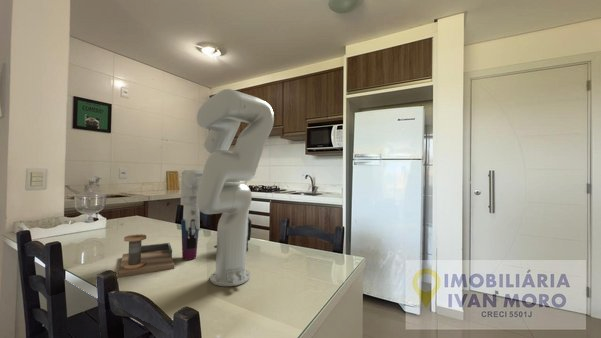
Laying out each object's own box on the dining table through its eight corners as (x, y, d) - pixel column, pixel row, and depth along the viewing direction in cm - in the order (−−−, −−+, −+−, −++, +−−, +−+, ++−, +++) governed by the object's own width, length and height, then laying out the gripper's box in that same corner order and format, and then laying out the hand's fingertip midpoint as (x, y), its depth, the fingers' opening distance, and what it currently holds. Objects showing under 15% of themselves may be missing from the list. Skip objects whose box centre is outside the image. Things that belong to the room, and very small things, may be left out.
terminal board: (174, 268, 89) (175, 236, 89) (118, 277, 80) (120, 241, 80) (169, 251, 106) (170, 224, 106) (122, 257, 97) (124, 228, 97)
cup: (201, 255, 102) (202, 218, 103) (193, 260, 95) (194, 221, 96) (186, 254, 103) (187, 217, 103) (176, 259, 96) (177, 220, 96)
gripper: (205, 202, 94) (204, 250, 94) (197, 198, 109) (195, 239, 109) (183, 203, 90) (182, 253, 90) (178, 199, 105) (176, 242, 105)
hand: (189, 245), depth 99 cm, fingers closed on cup, 6 cm apart
